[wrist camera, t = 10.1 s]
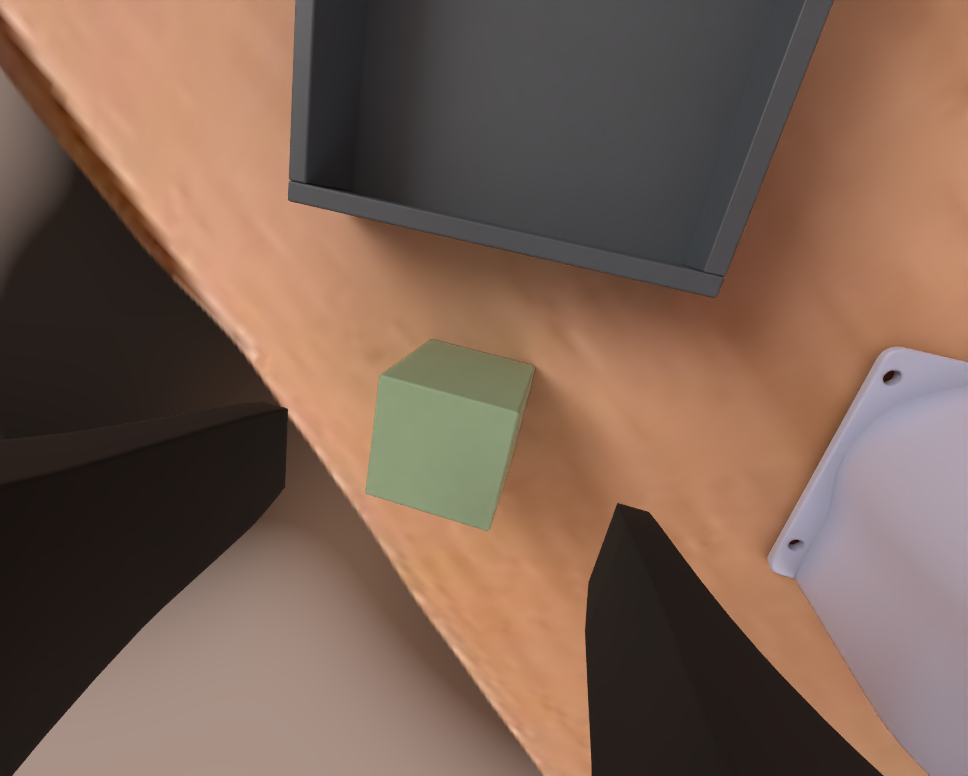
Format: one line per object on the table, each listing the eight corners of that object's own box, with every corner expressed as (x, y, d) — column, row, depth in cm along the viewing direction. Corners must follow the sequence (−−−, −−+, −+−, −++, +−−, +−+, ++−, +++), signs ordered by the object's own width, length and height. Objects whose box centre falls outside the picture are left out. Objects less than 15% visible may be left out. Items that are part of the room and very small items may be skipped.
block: (511, 460, 19) (489, 532, 15) (415, 433, 20) (364, 494, 15) (536, 365, 18) (519, 413, 13) (430, 338, 18) (379, 374, 14)
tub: (690, 285, 16) (717, 298, 12) (341, 206, 17) (287, 200, 14) (890, -260, 11) (1015, -461, 8) (380, -298, 12) (312, -477, 9)
